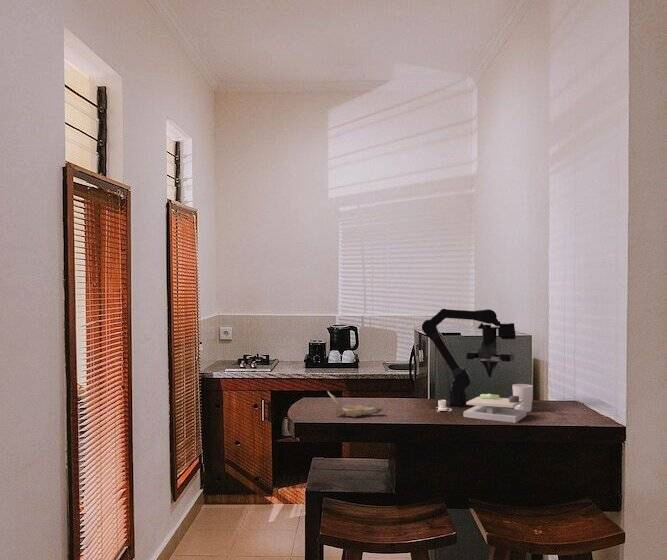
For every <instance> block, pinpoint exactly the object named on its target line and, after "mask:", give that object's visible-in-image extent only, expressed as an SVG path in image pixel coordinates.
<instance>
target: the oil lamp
mask: <svg viewBox="0 0 667 560" xmlns="http://www.w3.org/2000/svg"><path fill="white" fill-rule="evenodd" d="M327 394H328V395H329V396H330V398H331V399H332V401H333V405H334V411H335V413H336V414H338V415H340V414H345V415H348V416H360V417H362V416H361V415H364V416H369V414H370V415H375V414H376V415H377V414H379V413H380V412H382V410H383V408H382V407H377V406H376V407H375V406H371V407H370V406H364V405H363V404H362V405H361V404H347V405H342V403H341V402H340V400H339V399H338V398H336V396H335V395H333V394H332V393H331V392H330V391H328V390H327ZM338 409H339V410H340V411H339V410H338ZM345 415H344V416H345Z"/></svg>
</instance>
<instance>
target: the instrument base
mask: <svg viewBox="0 0 667 560" xmlns="http://www.w3.org/2000/svg"><path fill="white" fill-rule="evenodd" d="M462 413H463V414H462V415H463V417H464V418H469V419H479V420H480V419H481V420H486V421H487V420H488V421H496V422H497V421H498V422H504V423H505V422H506V423H512V424H513V423H514V424H515V423H518V422H519V421H520V420H522V419H523V418H525V417H527V413H528V412H526V410H517V409H514V408H508V407H494V406H479V405H473V407H470V408H468V409H466V410H464V411H463V412H462Z"/></svg>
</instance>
